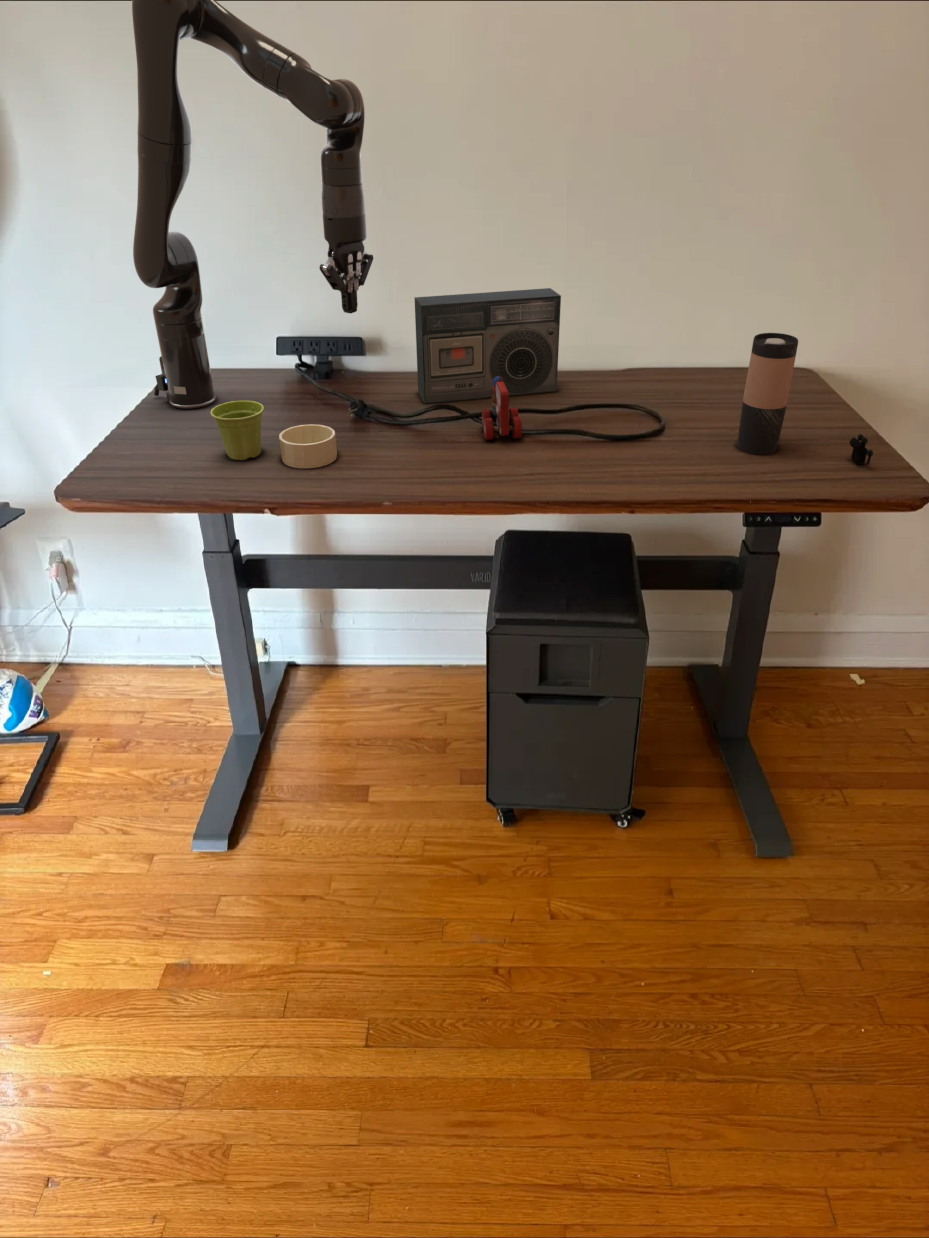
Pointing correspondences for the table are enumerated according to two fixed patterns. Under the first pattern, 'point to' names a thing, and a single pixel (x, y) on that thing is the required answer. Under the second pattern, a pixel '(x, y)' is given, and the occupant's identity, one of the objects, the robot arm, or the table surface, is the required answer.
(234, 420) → the plant pot
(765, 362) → the travel mug
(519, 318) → the cassette player
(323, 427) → the beige round bowl
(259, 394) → the table surface
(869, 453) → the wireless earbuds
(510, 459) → the table surface
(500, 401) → the red toy vehicle
